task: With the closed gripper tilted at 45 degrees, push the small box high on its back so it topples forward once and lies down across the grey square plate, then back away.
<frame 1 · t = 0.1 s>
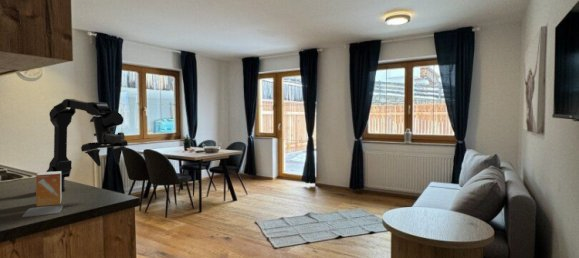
hand: (109, 164, 140), 15 cm above the worktop, tool pointing down, fingers open, 9 cm apart
grey square plate: (44, 211, 122), on the worktop
small box: (49, 204, 132), on the worktop
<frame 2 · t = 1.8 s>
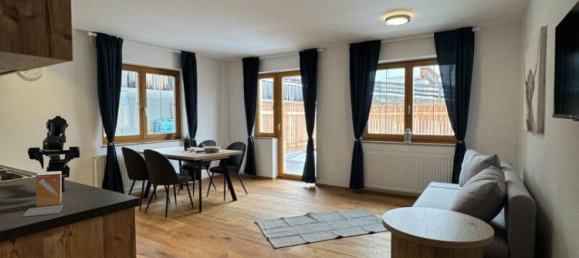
hand: (53, 167, 139), 14 cm above the worktop, tool tilted 45°, fingers open, 7 cm apart
nothing on the worktop moved.
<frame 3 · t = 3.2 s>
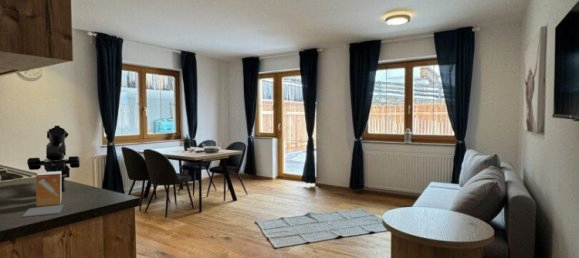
hand: (52, 178, 139), 9 cm above the worktop, tool tilted 45°, fingers closed
nothing on the worktop moved.
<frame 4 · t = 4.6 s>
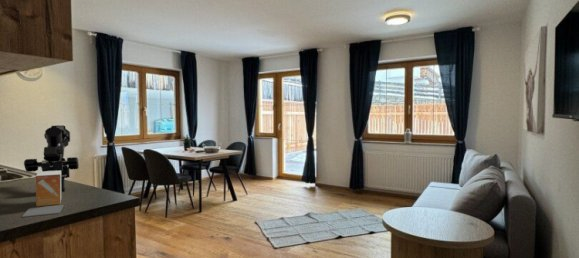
hand: (50, 180, 134), 9 cm above the worktop, tool tilted 45°, fingers closed
small box: (49, 203, 132), on the worktop, touching gripper
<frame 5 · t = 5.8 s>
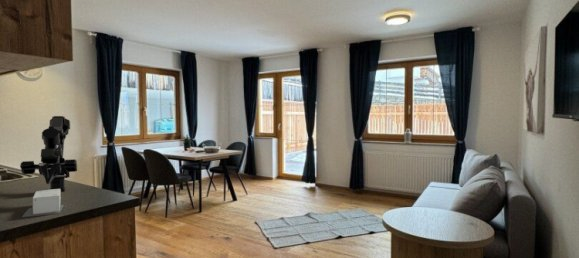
hand: (47, 183, 129), 9 cm above the worktop, tool tilted 45°, fingers closed
small box: (48, 197, 130), point 3 cm above the worktop, touching grey square plate
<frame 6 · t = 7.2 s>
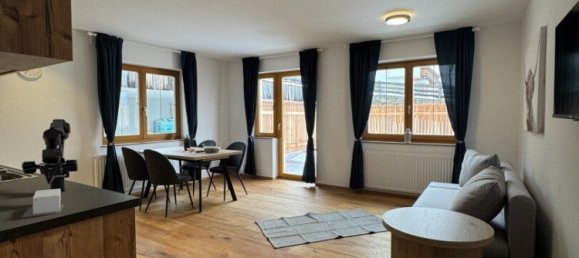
hand: (48, 183, 131), 9 cm above the worktop, tool tilted 45°, fingers closed
nothing on the worktop moved.
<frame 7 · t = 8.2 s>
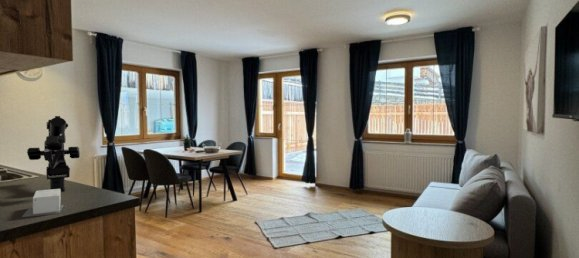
hand: (52, 168, 139), 13 cm above the worktop, tool tilted 45°, fingers closed
nothing on the worktop moved.
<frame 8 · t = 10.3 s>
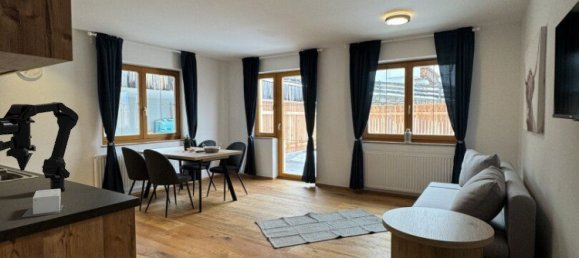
hand: (22, 170, 135), 13 cm above the worktop, tool pointing down, fingers closed
nothing on the worktop moved.
at the end: small box tilted 89°; small box touching grey square plate; small box inside the target area (2.3 cm from its centre), point 3.4 cm above the worktop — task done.
